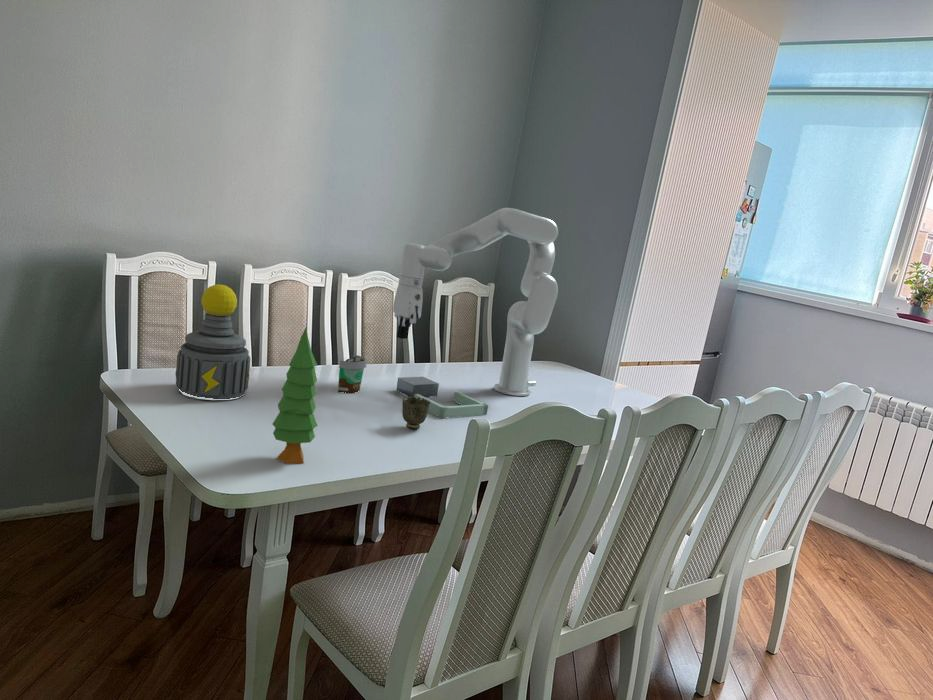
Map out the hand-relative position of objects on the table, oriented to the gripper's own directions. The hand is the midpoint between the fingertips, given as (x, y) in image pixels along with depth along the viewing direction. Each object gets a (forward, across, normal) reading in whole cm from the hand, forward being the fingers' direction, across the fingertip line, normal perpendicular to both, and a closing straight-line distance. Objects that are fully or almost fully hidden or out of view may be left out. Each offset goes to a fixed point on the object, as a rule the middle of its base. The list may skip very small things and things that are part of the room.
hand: (402, 337), depth 239 cm
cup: (+16, -41, +22) cm, 50 cm away
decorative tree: (+16, -52, +63) cm, 84 cm away
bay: (+15, -28, -1) cm, 32 cm away
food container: (+16, -5, +19) cm, 26 cm away
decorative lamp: (+17, 0, +61) cm, 64 cm away
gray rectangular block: (+16, -11, -1) cm, 19 cm away
